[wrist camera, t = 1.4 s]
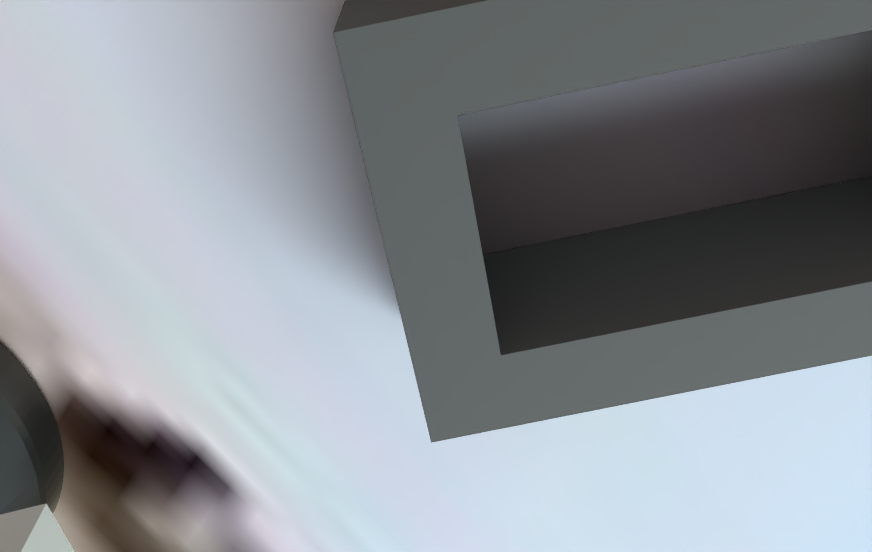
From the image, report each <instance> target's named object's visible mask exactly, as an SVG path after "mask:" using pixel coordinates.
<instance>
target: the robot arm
mask: <svg viewBox="0 0 872 552" xmlns="http://www.w3.org/2000/svg"><path fill="white" fill-rule="evenodd" d="M63 472H64V461H63V450H62V444H61V439H60V435H59V431H58V428H57V425H56V422H55V419H54V417H53V415H52V412H51V410H50V408H49V406H48V404H47V402H46V400H45V398H44V396H43V395H42V393H41V391H40V390H39V388H38V387H37V385H36V384H35V382H34V381H33V379H32V378H31V377H30V375H29V374H28V373H27V371H26V370H25V369H24V368H23V367H22V365H21V364H20V363H19V362H18V361H17V360H16V358H15V357H14V356H13V355H12V354H11V353H10V352H9V351H8V350H7V349H6V348H5V347H4V346H3V345H1V344H0V552H75V551H74V550H73V548H72V546H71V545H70V543H69V541H68V539H67V538H66V536H65V534H64V533H63V531H62V529H61V528H60V526H59V524H58V522H57V521H56V519H55V517H54V516H53V512H54V510H55V508H56V505H57V503H58V500H59V497H60V493H61V489H62V482H63Z"/></svg>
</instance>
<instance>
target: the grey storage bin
mask: <svg viewBox="0 0 872 552" xmlns="http://www.w3.org/2000/svg"><path fill="white" fill-rule="evenodd" d="M871 30H872V0H349V1H345V3H344V5H343V8H342V11H341V13H340V16H339V18H338V21H337V24H336V26H335V29H334V32H333V34H334V38H335V42H336V47H337V51H338V55H339V59H340V63H341V67H342V72H343V76H344V80H345V84H346V88H347V92H348V97H349V101H350V105H351V109H352V113H353V118H354V122H355V126H356V130H357V134H358V138H359V143H360V147H361V151H362V155H363V159H364V163H365V168H366V172H367V176H368V180H369V184H370V189H371V193H372V197H373V201H374V205H375V209H376V214H377V218H378V222H379V226H380V230H381V234H382V239H383V243H384V247H385V251H386V255H387V259H388V264H389V268H390V272H391V276H392V280H393V285H394V289H395V293H396V297H397V301H398V305H399V310H400V314H401V318H402V322H403V326H404V330H405V335H406V339H407V343H408V347H409V351H410V356H411V360H412V364H413V368H414V372H415V376H416V381H417V385H418V389H419V393H420V397H421V401H422V406H423V410H424V414H425V418H426V422H427V426H428V431H429V435H430V439H431V442H436V441H441V440H446V439H451V438H456V437H461V436H466V435H471V434H476V433H481V432H486V431H491V430H497V429H502V428H507V427H512V426H517V425H522V424H527V423H532V422H537V421H542V420H547V419H552V418H557V417H562V416H567V415H573V414H578V413H583V412H588V411H593V410H598V409H603V408H608V407H613V406H618V405H623V404H628V403H633V402H638V401H643V400H649V399H654V398H659V397H664V396H669V395H674V394H679V393H684V392H689V391H694V390H699V389H704V388H709V387H714V386H719V385H725V384H730V383H735V382H740V381H745V380H750V379H755V378H760V377H765V376H770V375H775V374H780V373H785V372H790V371H795V370H801V369H806V368H811V367H816V366H821V365H826V364H831V363H836V362H841V361H846V360H851V359H856V358H861V357H866V356H871V355H872V176H871V177H866V178H861V179H856V180H851V181H846V182H841V183H836V184H831V185H826V186H821V187H816V188H811V189H806V190H801V191H796V192H791V193H787V194H782V195H777V196H772V197H767V198H762V199H757V200H752V201H747V202H742V203H737V204H732V205H727V206H722V207H717V208H712V209H707V210H702V211H697V212H693V213H688V214H683V215H678V216H673V217H668V218H663V219H658V220H653V221H648V222H643V223H638V224H633V225H628V226H623V227H618V228H613V229H608V230H603V231H598V232H594V233H589V234H584V235H579V236H574V237H569V238H564V239H559V240H554V241H549V242H544V243H539V244H534V245H529V246H524V247H519V248H514V249H509V250H504V251H500V252H495V253H490V254H485V255H483V253H482V248H481V242H480V237H479V231H478V226H477V220H476V215H475V209H474V204H473V198H472V193H471V187H470V181H469V176H468V170H467V165H466V159H465V154H464V148H463V143H462V137H461V132H460V126H459V120H458V115H463V114H468V113H472V112H477V111H482V110H487V109H492V108H497V107H502V106H506V105H511V104H516V103H521V102H526V101H531V100H536V99H540V98H545V97H550V96H555V95H560V94H565V93H569V92H574V91H579V90H584V89H589V88H594V87H599V86H603V85H608V84H613V83H618V82H623V81H628V80H633V79H637V78H642V77H647V76H652V75H657V74H662V73H667V72H671V71H676V70H681V69H686V68H691V67H696V66H701V65H705V64H710V63H715V62H720V61H725V60H730V59H735V58H739V57H744V56H749V55H754V54H759V53H764V52H769V51H773V50H778V49H783V48H788V47H793V46H798V45H803V44H807V43H812V42H817V41H822V40H827V39H832V38H837V37H841V36H846V35H851V34H856V33H861V32H866V31H871Z"/></svg>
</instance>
